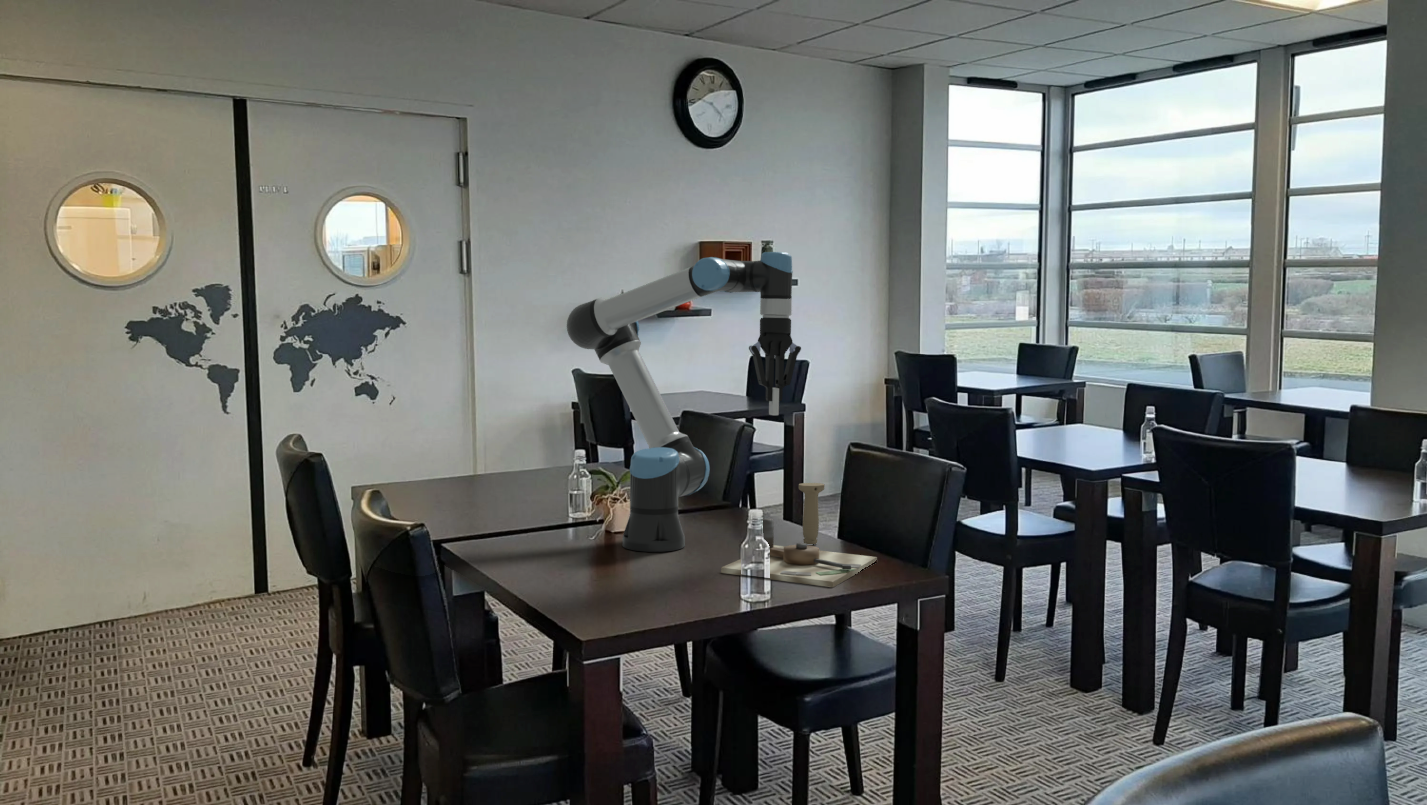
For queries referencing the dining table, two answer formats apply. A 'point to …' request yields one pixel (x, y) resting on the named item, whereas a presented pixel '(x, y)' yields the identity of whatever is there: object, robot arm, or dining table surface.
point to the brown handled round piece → (795, 550)
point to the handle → (811, 511)
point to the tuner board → (811, 569)
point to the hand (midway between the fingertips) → (773, 414)
